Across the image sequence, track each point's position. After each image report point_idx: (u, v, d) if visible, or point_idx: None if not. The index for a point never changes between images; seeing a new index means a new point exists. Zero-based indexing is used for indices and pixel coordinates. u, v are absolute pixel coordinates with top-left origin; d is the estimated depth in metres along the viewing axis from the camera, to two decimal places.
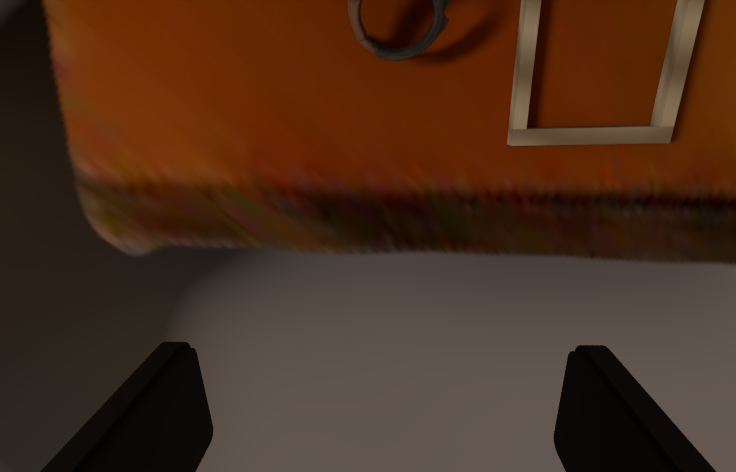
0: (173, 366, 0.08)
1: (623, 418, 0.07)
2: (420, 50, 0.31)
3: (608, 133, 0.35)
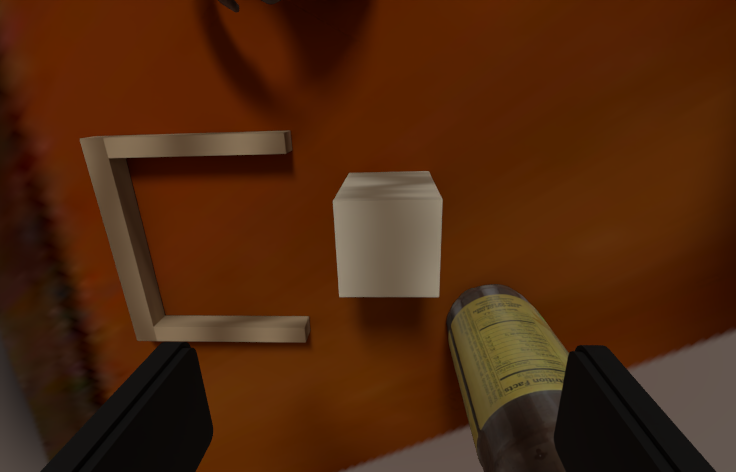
0: (173, 366, 0.08)
1: (623, 418, 0.07)
2: None
3: (130, 270, 0.26)
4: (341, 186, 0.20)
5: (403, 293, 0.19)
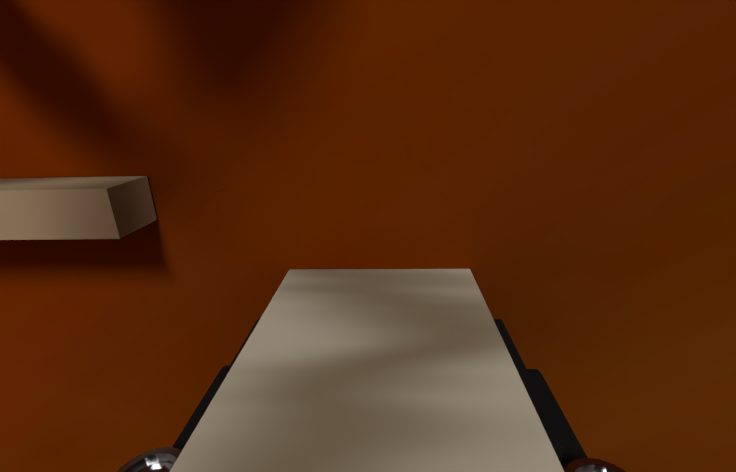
0: None
1: None
2: None
3: None
4: (236, 360, 0.07)
5: None
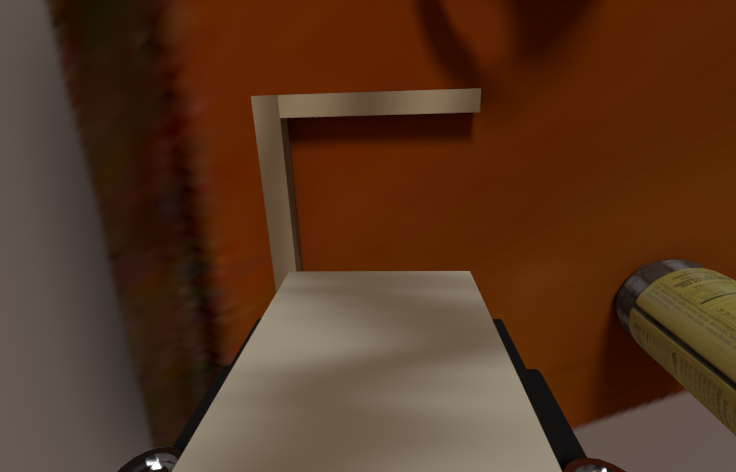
0: None
1: None
2: None
3: (284, 243, 0.24)
4: (235, 363, 0.07)
5: None
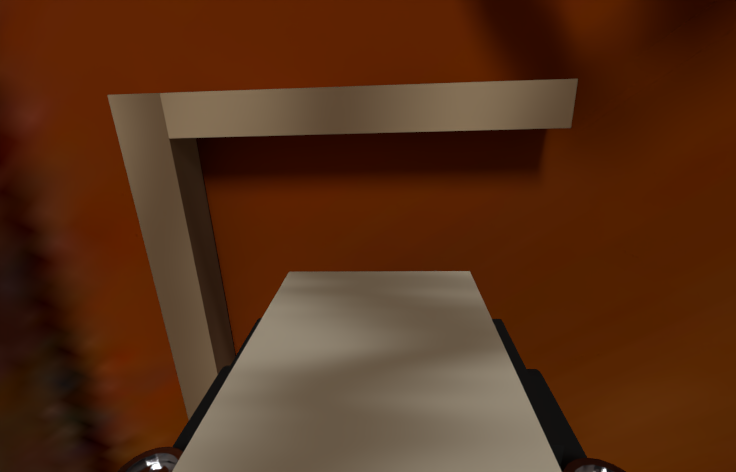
0: None
1: None
2: None
3: (199, 357, 0.13)
4: (235, 363, 0.07)
5: None
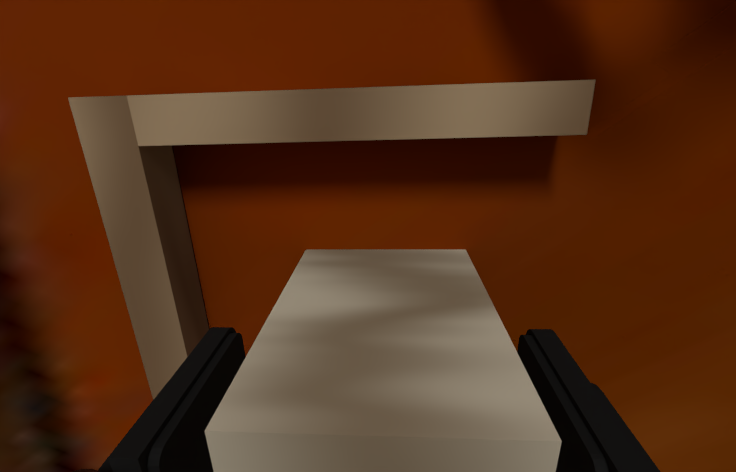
0: (224, 349, 0.09)
1: (556, 392, 0.07)
2: None
3: None
4: (269, 315, 0.08)
5: None
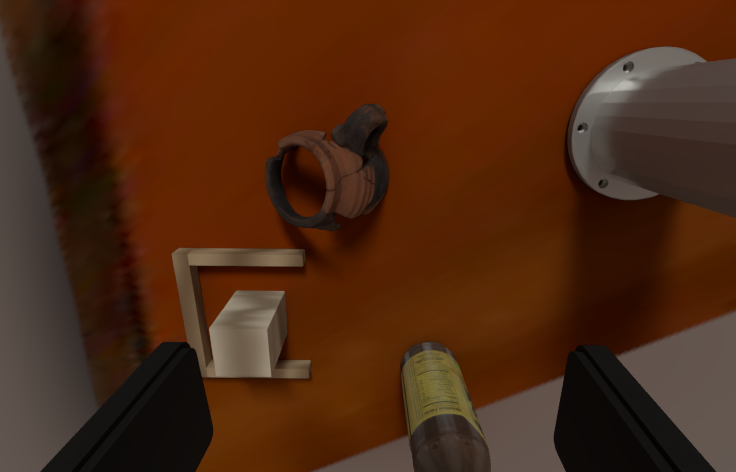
0: (173, 366, 0.08)
1: (623, 418, 0.07)
2: (274, 204, 0.32)
3: (195, 332, 0.39)
4: None
5: (251, 375, 0.34)
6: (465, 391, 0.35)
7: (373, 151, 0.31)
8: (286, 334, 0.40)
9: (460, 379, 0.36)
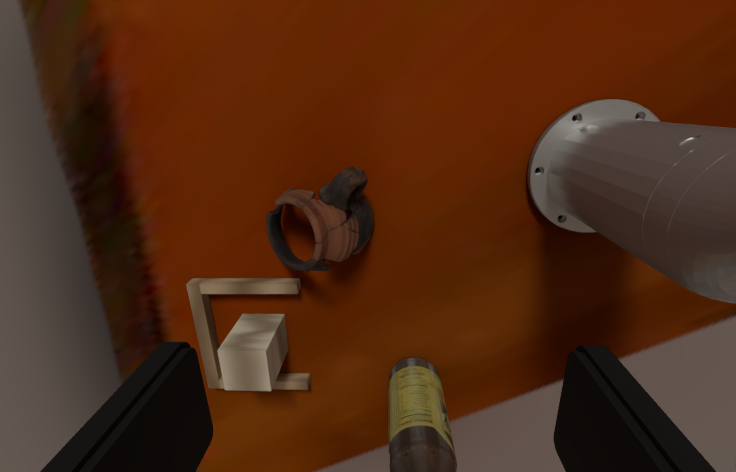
0: (173, 366, 0.08)
1: (623, 418, 0.07)
2: (274, 250, 0.37)
3: (208, 350, 0.45)
4: None
5: (254, 389, 0.40)
6: (440, 404, 0.39)
7: (357, 203, 0.36)
8: (287, 351, 0.46)
9: (437, 393, 0.40)
